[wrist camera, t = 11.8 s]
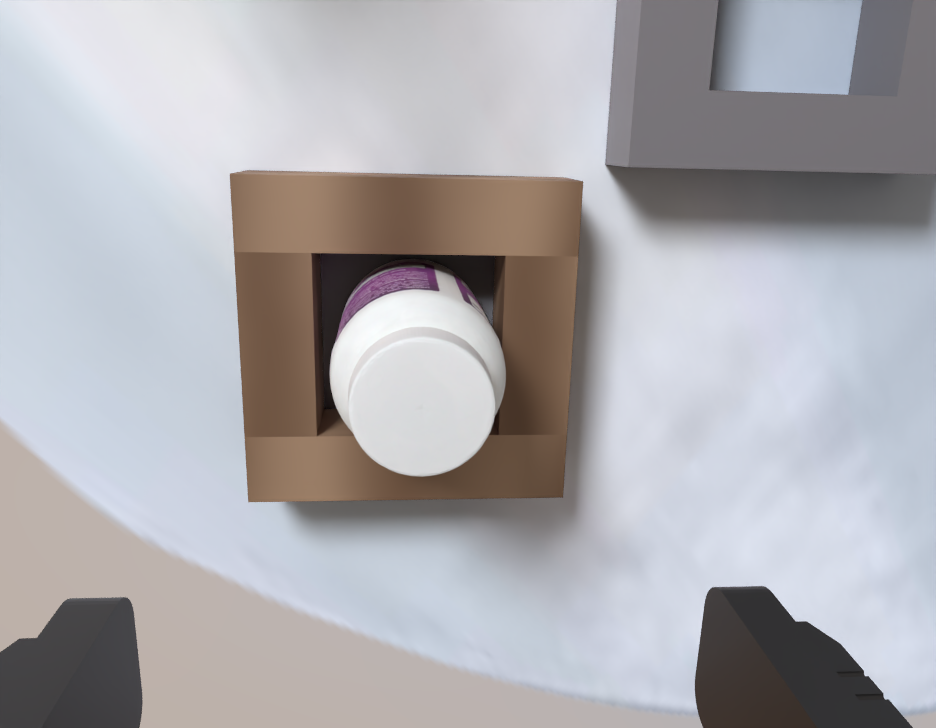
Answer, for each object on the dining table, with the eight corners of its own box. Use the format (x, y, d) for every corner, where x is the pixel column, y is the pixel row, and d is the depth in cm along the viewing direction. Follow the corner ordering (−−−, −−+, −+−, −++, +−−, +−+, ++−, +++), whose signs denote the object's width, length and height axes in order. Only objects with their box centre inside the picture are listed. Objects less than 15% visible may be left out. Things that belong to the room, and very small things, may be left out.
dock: (564, 177, 29) (583, 181, 26) (547, 465, 32) (563, 497, 29) (247, 170, 28) (229, 173, 25) (262, 468, 31) (248, 501, 28)
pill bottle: (326, 370, 30) (294, 473, 21) (364, 238, 29) (348, 286, 20) (459, 407, 31) (485, 521, 22) (501, 281, 30) (548, 345, 20)
